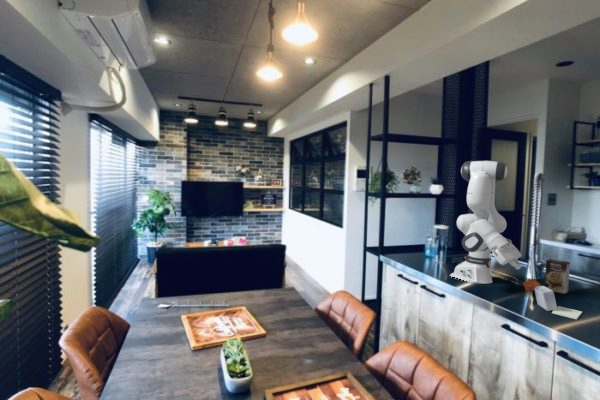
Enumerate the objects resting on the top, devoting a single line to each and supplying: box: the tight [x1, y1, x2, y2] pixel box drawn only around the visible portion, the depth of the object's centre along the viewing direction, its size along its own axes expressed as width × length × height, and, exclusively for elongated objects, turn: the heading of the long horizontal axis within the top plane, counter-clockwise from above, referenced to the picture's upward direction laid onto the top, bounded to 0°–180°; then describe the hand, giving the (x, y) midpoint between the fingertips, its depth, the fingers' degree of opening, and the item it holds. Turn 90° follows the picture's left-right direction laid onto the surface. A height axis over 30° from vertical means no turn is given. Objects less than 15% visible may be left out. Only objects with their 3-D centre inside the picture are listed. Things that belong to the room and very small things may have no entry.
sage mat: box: [551, 305, 583, 320], centre depth 146 cm, size 8×11×1 cm
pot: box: [522, 278, 542, 292], centre depth 176 cm, size 8×8×7 cm
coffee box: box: [544, 258, 571, 294], centre depth 177 cm, size 9×6×16 cm
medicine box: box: [534, 285, 558, 312], centre depth 152 cm, size 8×4×9 cm, turn 171°
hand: (519, 268), depth 160 cm, fingers closed
